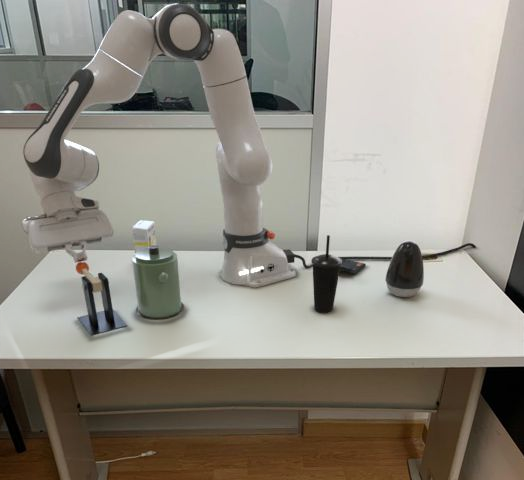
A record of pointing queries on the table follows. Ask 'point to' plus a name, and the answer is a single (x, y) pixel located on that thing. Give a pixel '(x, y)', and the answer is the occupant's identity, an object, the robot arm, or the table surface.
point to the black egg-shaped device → (405, 270)
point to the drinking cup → (325, 280)
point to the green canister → (157, 283)
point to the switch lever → (89, 276)
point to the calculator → (351, 266)
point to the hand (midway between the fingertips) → (81, 260)
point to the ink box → (144, 234)
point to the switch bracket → (103, 319)
